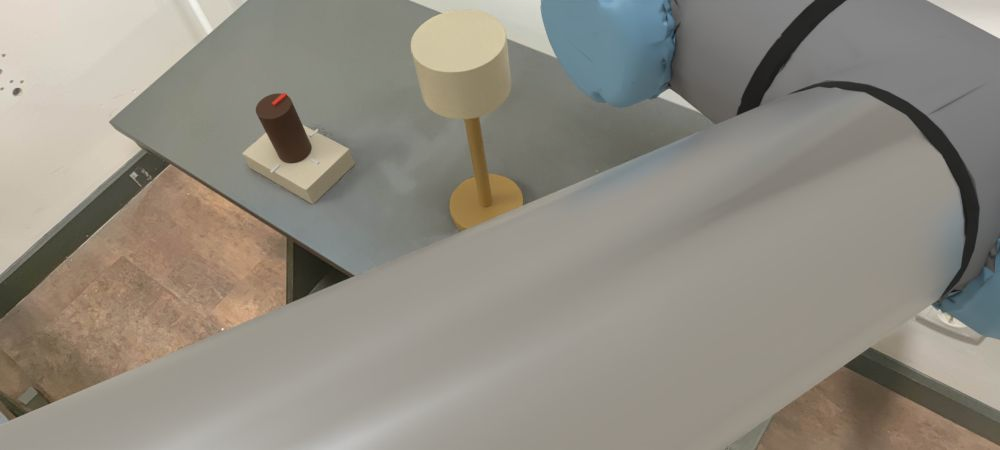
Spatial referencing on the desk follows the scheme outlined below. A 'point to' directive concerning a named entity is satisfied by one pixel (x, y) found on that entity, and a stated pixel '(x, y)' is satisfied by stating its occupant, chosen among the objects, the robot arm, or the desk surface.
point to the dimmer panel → (302, 165)
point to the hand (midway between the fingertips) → (725, 273)
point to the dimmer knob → (283, 127)
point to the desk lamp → (468, 100)
